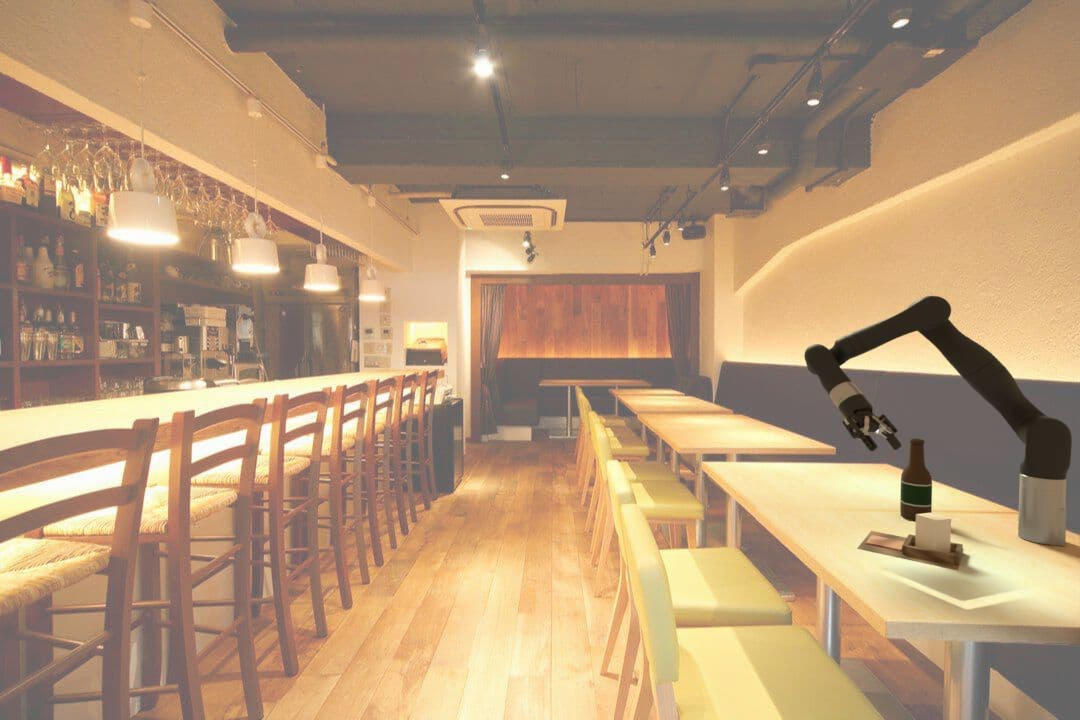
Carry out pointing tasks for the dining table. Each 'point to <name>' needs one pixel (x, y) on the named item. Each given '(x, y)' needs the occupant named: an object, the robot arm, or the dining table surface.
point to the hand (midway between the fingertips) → (886, 448)
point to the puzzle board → (911, 550)
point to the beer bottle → (915, 484)
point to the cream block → (933, 532)
